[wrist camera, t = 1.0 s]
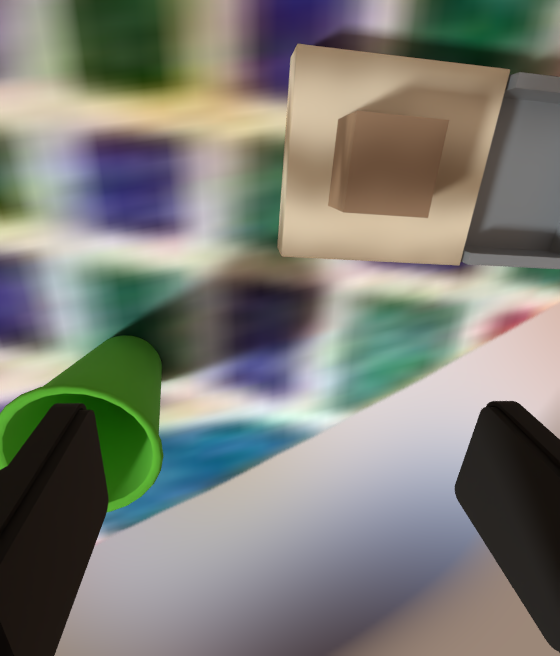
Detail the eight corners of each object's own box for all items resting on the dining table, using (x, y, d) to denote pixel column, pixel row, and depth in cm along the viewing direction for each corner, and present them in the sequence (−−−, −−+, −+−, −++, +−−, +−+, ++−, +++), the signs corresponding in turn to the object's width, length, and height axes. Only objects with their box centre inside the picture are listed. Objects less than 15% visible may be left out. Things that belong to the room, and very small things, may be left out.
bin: (484, 83, 26) (519, 72, 22) (606, 97, 27) (656, 88, 24) (443, 253, 30) (467, 264, 27) (549, 259, 31) (584, 270, 28)
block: (338, 119, 23) (357, 110, 19) (416, 126, 24) (449, 119, 20) (328, 205, 25) (343, 212, 21) (400, 210, 25) (427, 218, 22)
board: (290, 57, 24) (297, 43, 21) (481, 79, 26) (510, 69, 23) (277, 247, 29) (281, 256, 26) (439, 256, 30) (459, 265, 27)
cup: (203, 338, 31) (186, 421, 21) (162, 422, 34) (130, 531, 24) (91, 291, 28) (12, 360, 18) (56, 386, 31) (-29, 491, 21)
